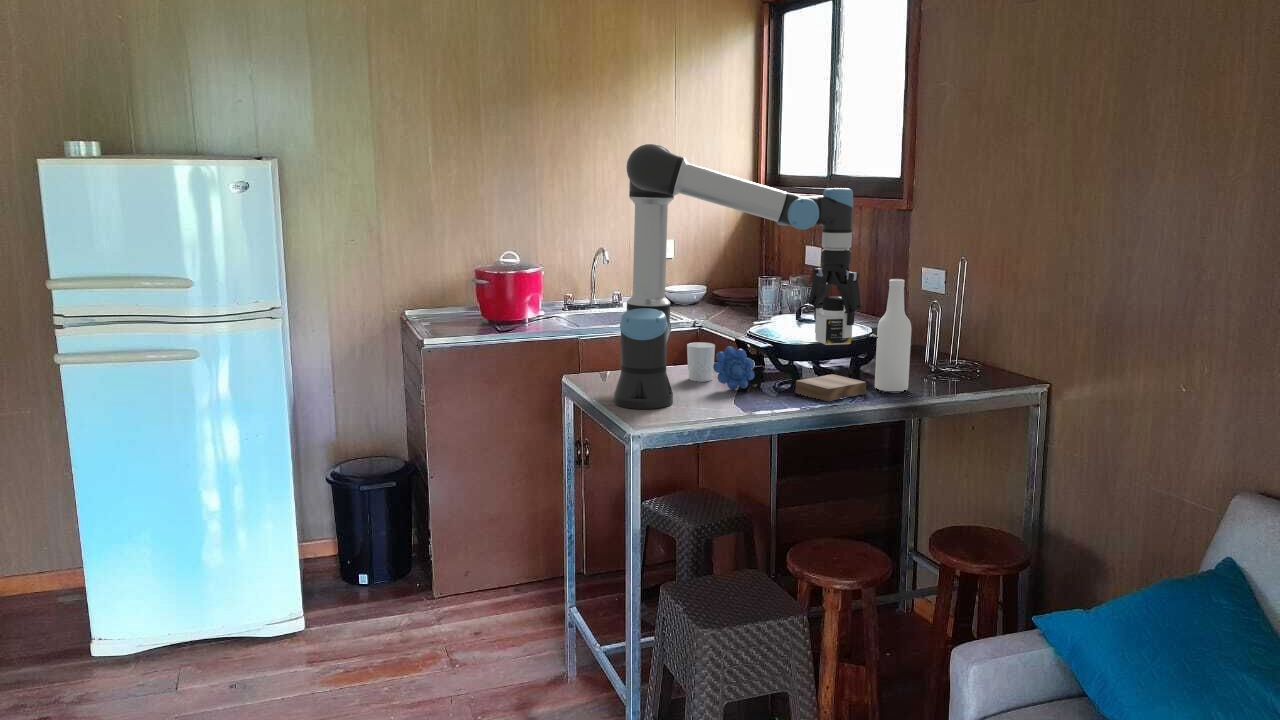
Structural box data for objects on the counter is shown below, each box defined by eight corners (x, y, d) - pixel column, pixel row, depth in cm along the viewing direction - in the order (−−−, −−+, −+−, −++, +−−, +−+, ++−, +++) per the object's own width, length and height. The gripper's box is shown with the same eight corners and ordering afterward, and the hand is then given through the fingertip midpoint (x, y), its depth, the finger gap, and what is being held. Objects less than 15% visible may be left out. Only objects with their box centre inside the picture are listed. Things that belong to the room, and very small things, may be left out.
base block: (828, 402, 244) (828, 388, 243) (795, 393, 254) (795, 380, 253) (865, 394, 252) (866, 382, 251) (832, 386, 262) (832, 374, 261)
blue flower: (717, 394, 253) (718, 349, 250) (710, 388, 259) (711, 345, 257) (759, 392, 255) (760, 348, 253) (751, 386, 261) (752, 343, 259)
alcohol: (909, 394, 253) (916, 281, 247) (875, 393, 254) (881, 281, 248) (906, 387, 261) (912, 278, 255) (873, 385, 262) (878, 277, 256)
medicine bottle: (825, 345, 246) (827, 299, 243) (815, 340, 253) (816, 295, 250) (851, 344, 247) (853, 298, 245) (840, 339, 254) (841, 294, 252)
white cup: (715, 382, 267) (715, 347, 265) (687, 382, 267) (687, 347, 265) (713, 376, 274) (714, 342, 272) (686, 376, 274) (686, 342, 272)
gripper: (879, 251, 238) (874, 339, 243) (816, 245, 256) (813, 327, 260) (858, 252, 234) (854, 342, 239) (796, 246, 252) (793, 330, 256)
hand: (833, 334), depth 250 cm, fingers closed on medicine bottle, 9 cm apart
